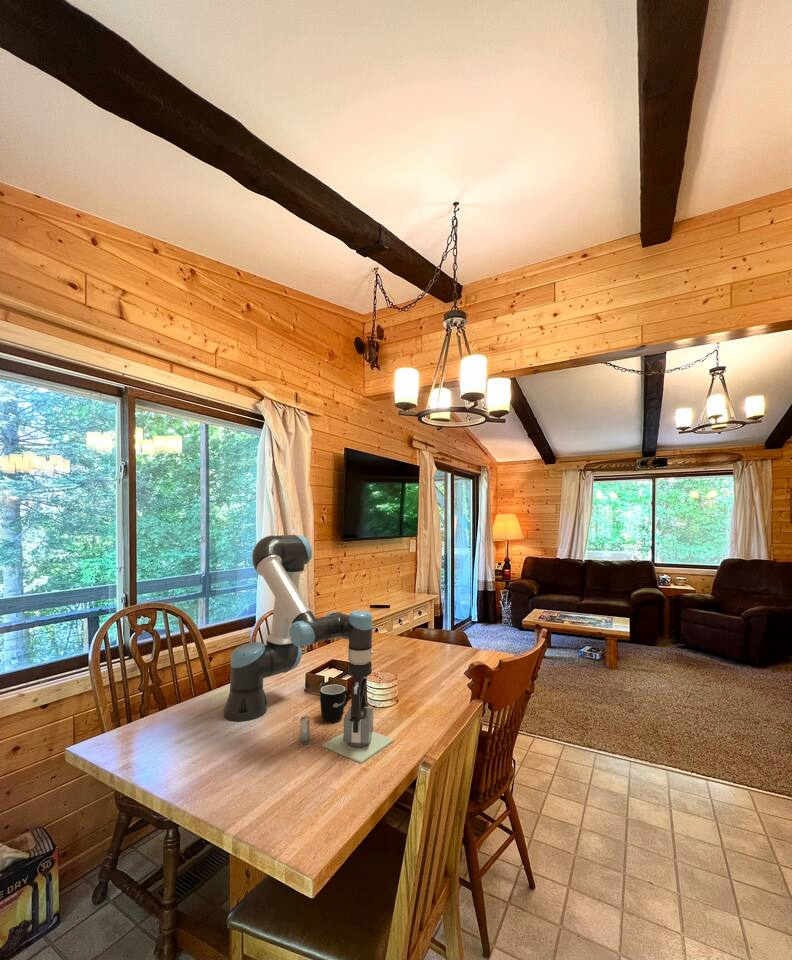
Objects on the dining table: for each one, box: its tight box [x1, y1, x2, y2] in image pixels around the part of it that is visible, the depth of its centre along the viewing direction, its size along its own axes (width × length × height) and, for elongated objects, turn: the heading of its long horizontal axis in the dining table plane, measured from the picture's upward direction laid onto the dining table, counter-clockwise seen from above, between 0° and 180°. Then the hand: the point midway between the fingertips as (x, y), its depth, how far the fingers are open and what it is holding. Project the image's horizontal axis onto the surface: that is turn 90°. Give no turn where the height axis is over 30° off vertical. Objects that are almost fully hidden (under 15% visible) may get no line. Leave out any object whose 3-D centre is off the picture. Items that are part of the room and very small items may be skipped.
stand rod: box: [299, 715, 311, 746], centre depth 138 cm, size 3×3×8 cm
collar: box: [343, 706, 374, 743], centre depth 138 cm, size 8×8×7 cm
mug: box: [319, 684, 349, 723], centre depth 156 cm, size 12×9×10 cm
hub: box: [322, 711, 395, 765], centre depth 138 cm, size 16×16×9 cm
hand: (358, 735), depth 138 cm, fingers closed on collar, 8 cm apart
